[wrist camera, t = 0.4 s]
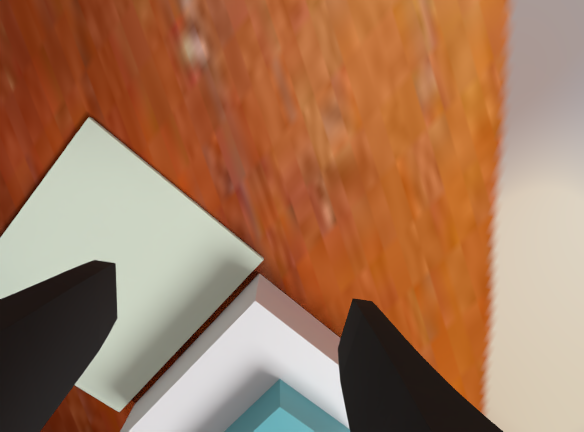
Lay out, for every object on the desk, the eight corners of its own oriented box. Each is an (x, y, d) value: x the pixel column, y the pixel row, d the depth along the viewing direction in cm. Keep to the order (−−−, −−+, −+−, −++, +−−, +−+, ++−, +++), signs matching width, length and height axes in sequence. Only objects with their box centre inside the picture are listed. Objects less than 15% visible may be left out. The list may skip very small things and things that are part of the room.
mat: (121, 408, 23) (119, 412, 23) (-47, 305, 21) (-52, 308, 20) (263, 258, 21) (263, 259, 20) (91, 117, 18) (88, 117, 18)
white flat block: (258, 481, 26) (255, 534, 22) (134, 403, 23) (110, 450, 20) (382, 371, 23) (400, 412, 20) (259, 273, 21) (255, 300, 17)
